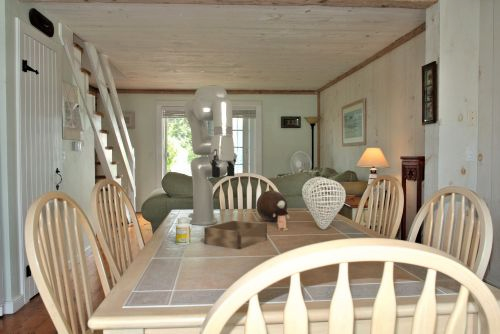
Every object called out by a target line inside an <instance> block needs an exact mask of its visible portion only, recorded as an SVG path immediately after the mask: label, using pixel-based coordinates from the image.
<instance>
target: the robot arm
mask: <svg viewBox="0 0 500 334" xmlns="http://www.w3.org/2000/svg"><path fill="white" fill-rule="evenodd" d="M194 97H195V98H190V99H187V100H186V102H185V105H184V111H185V117H186V120H187V123H188V124H189V127H190V128H189V129H190V137H191V149H192V151H193V154H194V155H197V156H198V157H195V158H192V160H191V162H190V173H191V179H192V209H193V212H192V213H190V214H188V215H187V216H188V217H187V218H188V219H191V220H189V221H190V222H189V224H190V225H194V226H211V225H216V223H217V222H218V221H217V219H215V218H214V186H213V184H212V183H211V181H210V180H209V179H208V178H215V179H216V178H218V179H219V178H220V177H224V176H226V175H227V177H235V166H236V162H237V157H238V155H237V154H236V153H235V144H234V138H233V135H234V132H233V130H234V129H233V126H234V125H233V102H232V101H231V100H229V99H228V94H227V91H226V89H225V88H224V87H222V86H201V87H198V88H197V90H196V91H195V94H194ZM205 121H206V122H210V121H211V122H212V135H210V133H209V126H208V124H207V123H206V122H205Z"/></svg>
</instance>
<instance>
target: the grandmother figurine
mask: <svg viewBox="0 0 500 334" xmlns="http://www.w3.org/2000/svg"><path fill="white" fill-rule="evenodd" d="M284 205H285V202H284V201H279V202H278V204H277V206H278V207H279V208H280V209H277V210H276V211H275V212H274V215H273V217H275V215H277V214H278V220H277V231H289V229H288V228H287V220H286V218H287V219H290V216H289V213H288V210H285V209H283V208H284Z"/></svg>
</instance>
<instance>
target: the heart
mask: <svg viewBox="0 0 500 334" xmlns="http://www.w3.org/2000/svg"><path fill="white" fill-rule="evenodd" d="M301 195H302V196H301V197H302V200H303V201H304V204H305V206H306V207H307V209H308V210H309V212H310V215H311V216H312V218H313V219H314V221H315V223H316V224H317V226H318V227H319V228H320V229H321V230H325V229H327V228H328V227H329V226H330V224H331V223H332V221H334V219H335V218H336V216H337V215H338V214H339V212H340V210H341V209H342V208H343V206H344V205H345V202H346V197H347V196H346V195H347V194H346V190H345V187H344V186H342V184H341V183H339V182H338V181H336V180H333V179H330V178H327V177H323V176H319V177H318V176H317V177H316V176H315V177H312V178H310V179H308V180H307V181H306V182H305V183H304V185H302V188H301Z"/></svg>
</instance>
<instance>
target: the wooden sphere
mask: <svg viewBox="0 0 500 334" xmlns="http://www.w3.org/2000/svg"><path fill="white" fill-rule="evenodd" d="M279 201H284V202H285V205H284V208H283V209H285V210H286V211H288V201H287V199H286V197H285V196H284V194H282V193H281V192H280V191H278V190H277V191H276V190H272V189H271V190H266V191H264V192H263V193H261V194H260V195H259V197H258V198H257V200H256V206H255V207H256V210H257V214H258V215H259V216H260V217H261V218H262V219H263V220H265V221H267V222H275V221H276V222H277V221H278V214H277V215H275V217H273V215H274V212H275V211H276V210H277V209H280V208H279V207H278V206H277V204H278V202H279Z"/></svg>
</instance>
